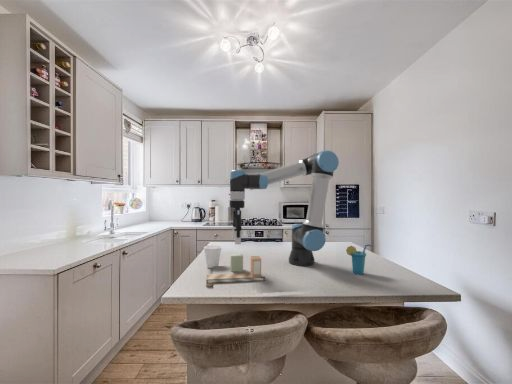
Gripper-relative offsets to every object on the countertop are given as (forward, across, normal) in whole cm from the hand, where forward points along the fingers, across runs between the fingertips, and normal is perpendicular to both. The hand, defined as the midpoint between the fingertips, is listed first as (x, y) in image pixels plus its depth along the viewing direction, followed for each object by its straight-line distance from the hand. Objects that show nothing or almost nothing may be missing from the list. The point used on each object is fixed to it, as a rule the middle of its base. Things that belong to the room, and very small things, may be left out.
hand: (236, 241), depth 135 cm
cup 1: (+16, -12, -12) cm, 23 cm away
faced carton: (+15, +12, +8) cm, 20 cm away
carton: (+16, 0, 0) cm, 16 cm away
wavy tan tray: (+16, +12, -2) cm, 20 cm away
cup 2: (+16, +10, +63) cm, 66 cm away
